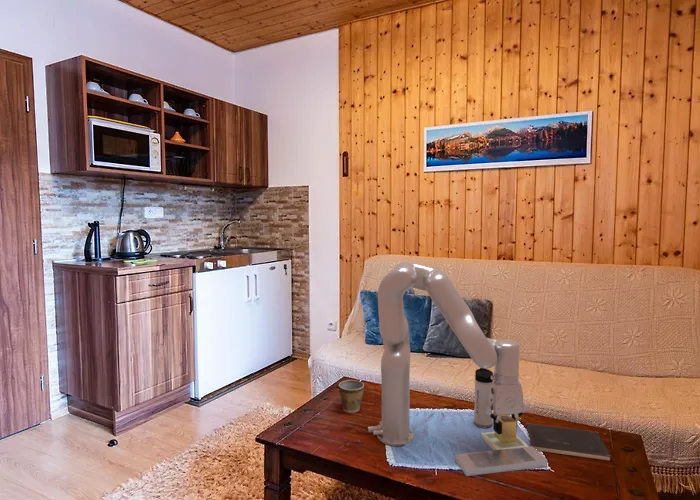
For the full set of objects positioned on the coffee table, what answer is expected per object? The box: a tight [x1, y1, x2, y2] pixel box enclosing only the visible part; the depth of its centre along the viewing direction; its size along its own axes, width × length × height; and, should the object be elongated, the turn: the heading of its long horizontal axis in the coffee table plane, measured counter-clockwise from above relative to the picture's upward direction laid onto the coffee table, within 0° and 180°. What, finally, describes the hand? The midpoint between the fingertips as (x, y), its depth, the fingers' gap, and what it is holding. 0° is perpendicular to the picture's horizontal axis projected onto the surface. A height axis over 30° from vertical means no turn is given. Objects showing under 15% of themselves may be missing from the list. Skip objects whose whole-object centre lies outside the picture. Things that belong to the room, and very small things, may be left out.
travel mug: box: [473, 367, 494, 428], centre depth 157 cm, size 6×7×20 cm
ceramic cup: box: [338, 379, 365, 414], centre depth 171 cm, size 13×10×10 cm
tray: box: [480, 431, 529, 450], centre depth 143 cm, size 11×11×2 cm
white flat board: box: [454, 445, 548, 477], centre depth 132 cm, size 26×8×2 cm, turn 100°
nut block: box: [493, 414, 518, 444], centre depth 142 cm, size 5×5×7 cm
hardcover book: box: [525, 422, 612, 462], centre depth 144 cm, size 16×23×2 cm
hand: (505, 430), depth 142 cm, fingers closed on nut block, 5 cm apart
